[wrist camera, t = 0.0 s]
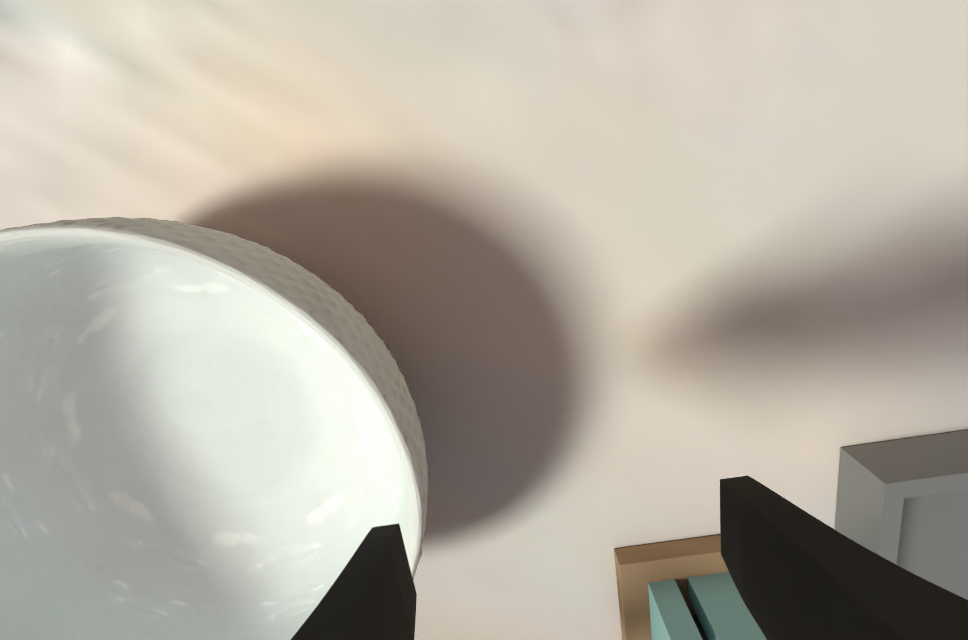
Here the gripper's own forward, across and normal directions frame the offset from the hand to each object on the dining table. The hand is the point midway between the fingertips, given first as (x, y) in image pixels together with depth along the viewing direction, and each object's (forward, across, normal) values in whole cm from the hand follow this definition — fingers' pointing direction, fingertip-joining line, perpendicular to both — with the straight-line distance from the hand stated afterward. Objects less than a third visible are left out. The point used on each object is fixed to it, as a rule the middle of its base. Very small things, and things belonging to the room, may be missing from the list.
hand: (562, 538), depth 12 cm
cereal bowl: (+10, +12, 0) cm, 16 cm away
